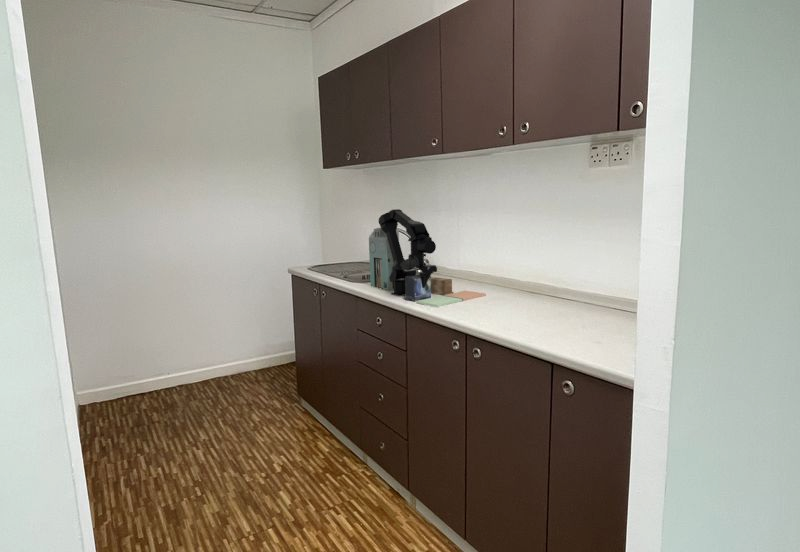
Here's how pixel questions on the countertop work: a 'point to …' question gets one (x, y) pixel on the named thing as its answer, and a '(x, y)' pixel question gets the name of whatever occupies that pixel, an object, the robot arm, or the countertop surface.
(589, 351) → the countertop surface
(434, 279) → the brown wooden block
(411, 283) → the small box
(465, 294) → the green and salmon panel
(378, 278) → the device
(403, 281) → the robot arm
